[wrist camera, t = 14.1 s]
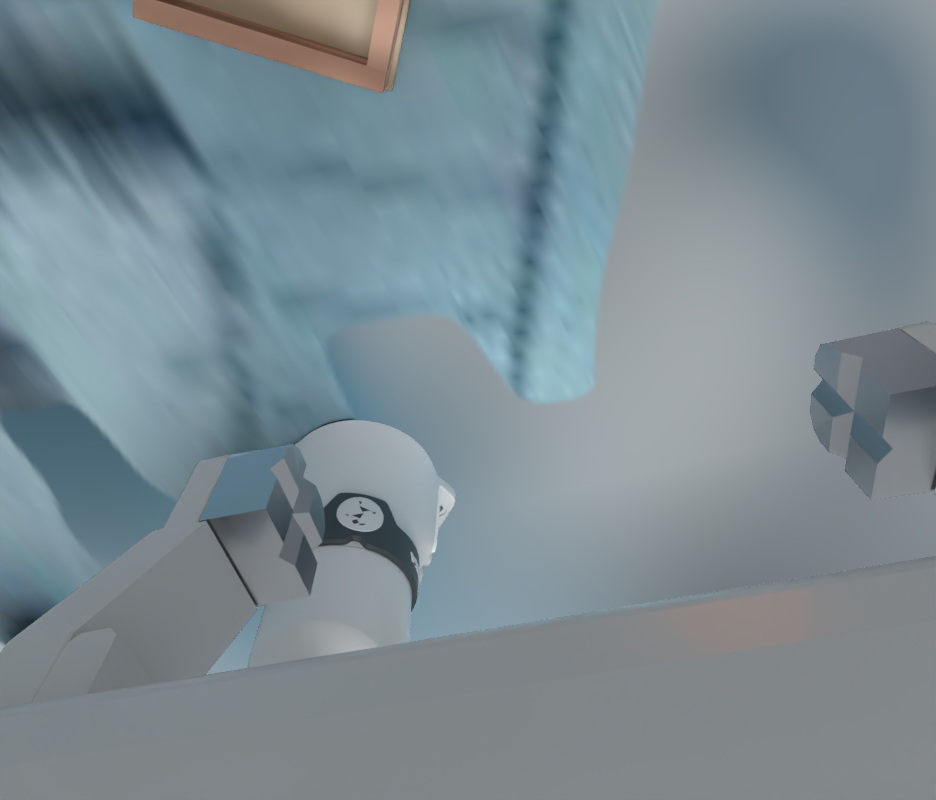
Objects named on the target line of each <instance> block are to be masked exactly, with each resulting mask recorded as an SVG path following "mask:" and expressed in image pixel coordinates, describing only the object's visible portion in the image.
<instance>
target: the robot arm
mask: <svg viewBox="0 0 936 800" xmlns="http://www.w3.org/2000/svg"><path fill="white" fill-rule="evenodd" d="M814 370H815V371H816V372H817V373H818V374H819V376H820V377H821V378H822V379H823V380H822V381H821V383H820V384H819V385H818V386H817V388H816V389H815V390H814V391H813V392H812V394H811V405H810V414H811V419H812V423H813V428H814V431H815V433H816V435H817V437H818V439H819V441H820V442H821V443H822V444H823V446H824V447H825V448H826V449H827V451H828V452H830V453H833V454H835V455H838V456H840V457H843V458H845V459H846V467H845V471H846V473H847V474H848V475H849V476H850V477H851V478H852V480H854V482H855V483H856V484H857V485H858V486H859V488H860V489H861V490H862V491H863V492H864V493H865V494H866V496H867V497H868V498H869V499H870V500H878V499H885V498H892V497H898V496H905V495H911V494H919V493H926V492H933V491H934V494H935V495H936V323H935V322H929V321H925V322H920V323H916V324H911V325H907V326H903V327H898V328H894V329H890V330H886V331H881V332H877V333H872V334H868V335H863V336H858V337H853V338H849V339H844V340H839V341H835V342H830V343H825V344H821V345H820V346H819V349H818V351H817V353H816V356H815V364H814ZM455 500H456V493H455V491H454V489H453V488H452V487H451V486H450V485H449V484H448V483H447V482H446V481H444V480H443V479H442V478H441V477H439V475H438V474H437V472H436V470H435V468H434V466H433V463H432V461H431V459H430V457H429V456H428V454H427V453H426V451H425V450H424V449H423V448H422V446H420V444H419V443H418V442H416V441H415V440H414V439H413V438H411V437H410V436H408V435H407V434H405V433H404V432H402V431H400V430H398V429H396V428H394V427H391V426H388V425H385V424H382V423H378V422H373V421H365V420H347V421H340V422H335V423H331V424H328V425H325V426H322V427H320V428H318V429H316V430H314V431H312V432H311V433H309V434H308V435H307V436H305V437H304V438H303V439H301V440H300V441H299V442H298V443H296V444H295V445H293V444H290V445H284V446H278V447H272V448H266V449H260V450H255V451H249V452H243V453H237V454H234V455H225V456H220V457H215V458H210V459H205V460H203V461H201V462H199V463H198V464H197V466H196V468H195V469H194V471H193V473H192V475H191V477H190V479H189V481H188V483H187V484H186V486H185V488H184V490H183V492H182V494H181V496H180V497H179V499H178V501H177V503H176V505H175V507H174V509H173V511H172V512H171V514H170V516H169V518H168V520H167V522H166V524H165V525H164V527H163V529H158V530H153V531H152V532H151V533H149V534H148V535H147V536H145V537H144V538H143V539H141V540H140V541H139V542H138V543H136V544H135V545H134V546H132V547H131V548H130V549H129V550H127V551H126V552H125V553H123V554H122V555H121V556H119V557H118V558H117V559H115V560H114V561H113V562H112V563H111V564H109V565H108V566H106V567H105V568H104V569H102V570H101V571H100V572H99V573H97V574H96V575H95V576H93V577H92V578H91V579H89V580H88V581H87V582H86V583H84V584H83V585H82V586H80V587H79V588H78V589H76V590H75V591H74V592H73V593H71V594H70V595H69V596H67V597H66V598H65V599H63V600H62V601H61V602H60V603H58V604H57V605H56V606H54V607H53V608H52V609H50V610H49V611H48V612H47V613H45V614H44V615H43V616H41V617H40V618H39V619H37V620H36V621H35V622H34V623H32V624H31V625H30V626H28V627H27V628H26V629H25V630H23V631H22V632H21V633H19V634H18V635H17V636H15V637H14V638H13V639H12V640H10V641H9V642H8V643H7V644H6V645H5V647H4V648H3V650H2V652H1V653H0V800H936V556H932V557H926V558H920V559H914V560H908V561H902V562H895V563H889V564H883V565H877V566H871V567H865V568H859V569H852V570H846V571H840V572H834V573H828V574H821V575H816V576H810V577H803V578H797V579H791V580H785V581H778V582H772V583H766V584H760V585H753V586H747V587H741V588H735V589H729V590H723V591H716V592H711V593H704V594H698V595H692V596H686V597H680V598H674V599H668V600H662V601H656V602H650V603H643V604H638V605H631V606H625V607H619V608H613V609H607V610H601V611H596V612H589V613H583V614H577V615H570V616H565V617H558V618H552V619H546V620H540V621H535V622H528V623H522V624H517V625H510V626H504V627H498V628H492V629H485V630H480V631H473V632H467V633H461V634H455V635H449V636H443V637H437V638H430V639H425V640H418V641H412V642H410V626H411V624H410V623H411V612H412V610H413V608H414V606H415V604H416V600H417V593H418V589H419V585H420V583H421V580H422V577H423V573H424V566H429V565H430V563H431V560H432V553H434V552H435V550H436V546H437V537H438V529H439V527H440V526H441V524H442V523H443V521H444V520H445V518H446V517H447V515H448V514H449V512H450V511H451V509H452V508H453V506H454V504H455ZM440 505H441V506H440ZM263 605H265V606H264V610H263V613H262V616H261V620H260V623H259V626H258V630H257V634H256V637H255V640H254V643H253V647H252V650H251V653H250V657H249V661H248V668H246V669H240V670H234V671H228V672H222V673H215V674H209V675H206V673H207V672H208V671H209V670H210V669H211V667H212V666H213V665H214V663H215V662H216V661H217V660H218V659H219V657H220V656H221V655H222V654H223V652H224V651H225V650H226V649H227V647H228V646H229V645H230V644H231V642H232V641H233V640H234V639H235V637H236V636H237V634H239V632H240V631H241V630H242V629H243V627H244V626H245V625H246V623H247V622H248V621H249V619H251V617H252V616H253V615H254V614H255V612H256V611H257V607H259V606H263Z"/></svg>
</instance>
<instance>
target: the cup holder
mask: <svg viewBox="0 0 936 800" xmlns="http://www.w3.org/2000/svg"><path fill="white" fill-rule="evenodd" d="M409 5H410V0H133V17H134V18H137V19H141V20H144V21H147V22H150V23H154V24H157V25H160V26H164V27H167V28H170V29H173V30H177V31H180V32H183V33H186V34H190V35H193V36H196V37H200V38H203V39H206V40H209V41H213V42H216V43H219V44H222V45H226V46H229V47H232V48H236V49H239V50H242V51H245V52H249V53H252V54H255V55H258V56H262V57H265V58H268V59H272V60H275V61H278V62H281V63H285V64H288V65H291V66H294V67H298V68H301V69H304V70H308V71H311V72H314V73H317V74H321V75H324V76H327V77H330V78H334V79H337V80H340V81H344V82H347V83H350V84H353V85H357V86H360V87H363V88H366V89H370V90H373V91H376V92H380V93H383V92H384V90H388V91H392V89H393V85H394V80H395V75H396V70H397V65H398V60H399V55H400V50H401V45H402V40H403V35H404V30H405V25H406V20H407V15H408V10H409Z"/></svg>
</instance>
